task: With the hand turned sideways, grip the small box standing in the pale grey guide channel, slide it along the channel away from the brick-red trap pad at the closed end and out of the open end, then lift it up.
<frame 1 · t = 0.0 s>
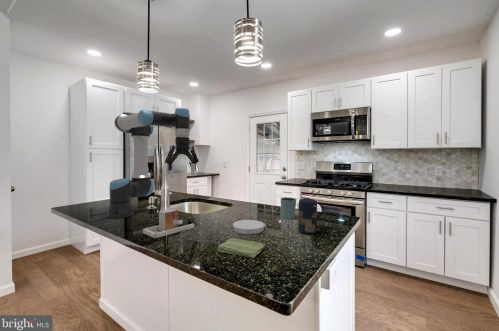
hand: (182, 175, 134), 28 cm above the counter, tool pointing down, fingers open, 13 cm apart
trap pad: (155, 233, 122), resting in guide channel
guide channel: (165, 231, 126), on the counter
small box: (168, 230, 128), resting in guide channel
lid: (250, 229, 132), on the counter
canister: (307, 232, 127), on the counter
washcloth: (241, 251, 103), on the counter
drinking glass: (288, 217, 156), on the counter
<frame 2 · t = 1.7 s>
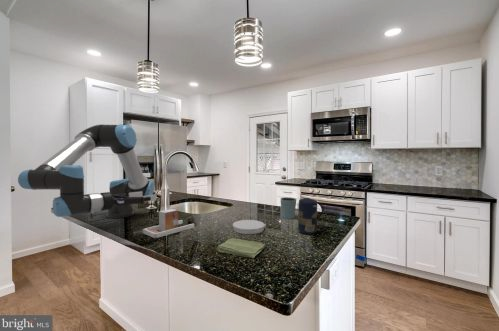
hand: (148, 195, 119), 20 cm above the counter, tool horizontal, fingers open, 13 cm apart
nothing on the counter moved.
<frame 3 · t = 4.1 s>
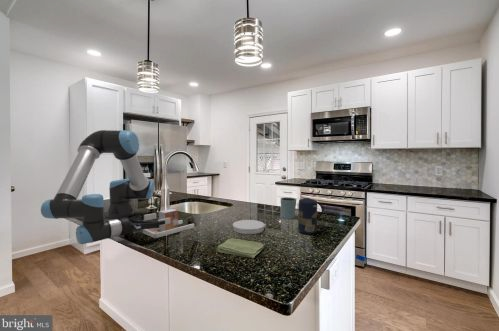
hand: (162, 217, 124), 7 cm above the counter, tool horizontal, fingers open, 13 cm apart
nothing on the counter moved.
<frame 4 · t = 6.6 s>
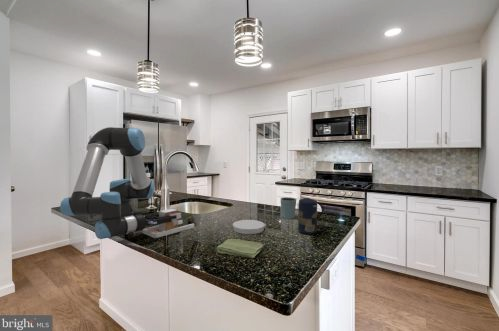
hand: (177, 214, 131), 8 cm above the counter, tool horizontal, fingers closed on small box, 6 cm apart
small box: (168, 230, 128), resting in guide channel, touching gripper
everything else where it was.
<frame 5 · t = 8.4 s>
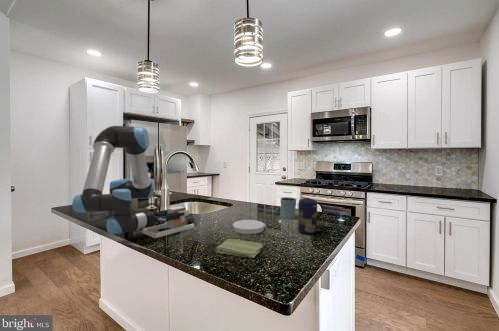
hand: (184, 211, 134), 8 cm above the counter, tool horizontal, fingers closed on small box, 6 cm apart
small box: (176, 227, 131), point 1 cm above the counter, touching gripper
everything else where it was.
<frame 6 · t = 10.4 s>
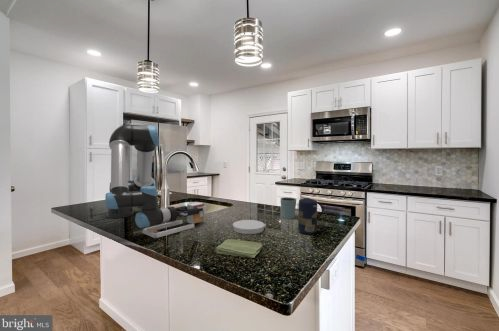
hand: (202, 207, 144), 8 cm above the counter, tool horizontal, fingers closed on small box, 6 cm apart
small box: (195, 222, 141), point 1 cm above the counter, touching gripper
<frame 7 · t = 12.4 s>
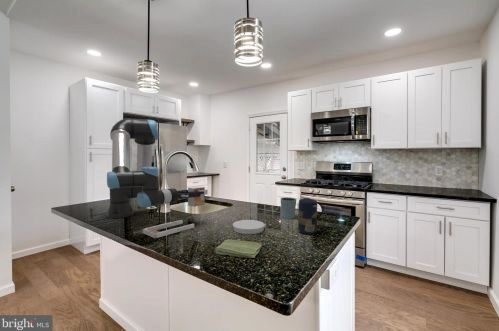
hand: (203, 191, 144), 18 cm above the counter, tool horizontal, fingers closed on small box, 6 cm apart
small box: (196, 205, 141), point 10 cm above the counter, touching gripper
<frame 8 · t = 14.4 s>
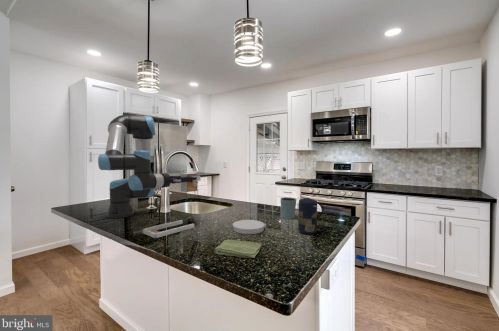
hand: (196, 177, 145), 26 cm above the counter, tool horizontal, fingers closed on small box, 6 cm apart
small box: (189, 191, 142), point 18 cm above the counter, touching gripper
at the end: small box inside the target area (3.2 cm from its centre), point 18.2 cm above the counter; the gripper is holding small box; small box moved 24.5 cm from its start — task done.
